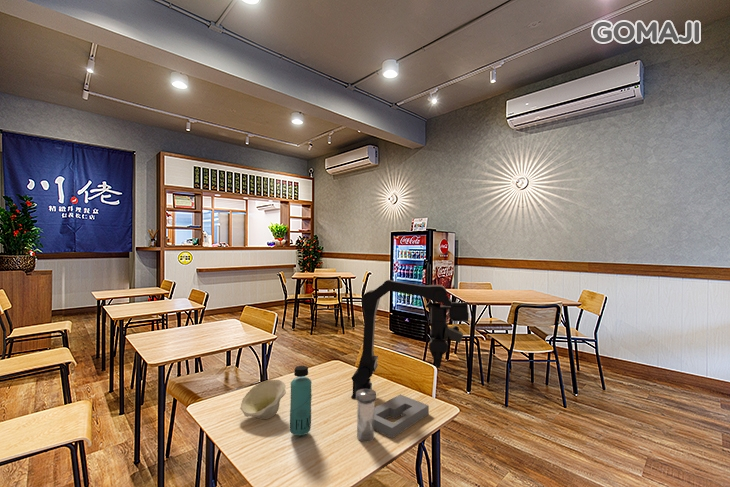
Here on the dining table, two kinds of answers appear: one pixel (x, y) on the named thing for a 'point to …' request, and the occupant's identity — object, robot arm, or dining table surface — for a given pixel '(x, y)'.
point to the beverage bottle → (300, 402)
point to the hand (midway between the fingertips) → (438, 363)
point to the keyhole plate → (394, 408)
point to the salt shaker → (365, 414)
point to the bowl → (263, 399)
